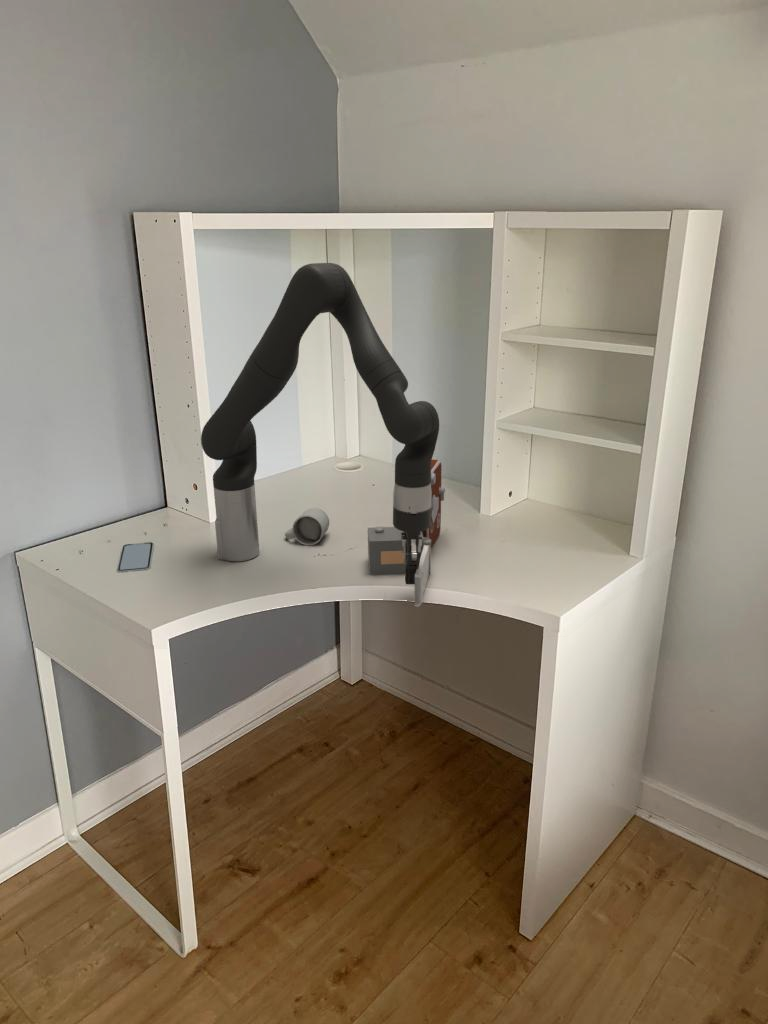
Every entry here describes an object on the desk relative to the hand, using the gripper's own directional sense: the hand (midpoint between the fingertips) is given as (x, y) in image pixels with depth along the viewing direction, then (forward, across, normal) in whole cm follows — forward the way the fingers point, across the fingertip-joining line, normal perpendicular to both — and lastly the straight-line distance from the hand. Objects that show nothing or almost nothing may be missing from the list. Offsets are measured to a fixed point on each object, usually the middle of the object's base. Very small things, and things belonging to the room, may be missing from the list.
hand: (410, 582), depth 162 cm
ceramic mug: (+5, -34, -22) cm, 41 cm away
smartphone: (+6, -27, -62) cm, 68 cm away
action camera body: (+4, -16, -1) cm, 16 cm away
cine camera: (+4, -32, +6) cm, 33 cm away
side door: (+4, -4, +3) cm, 6 cm away
